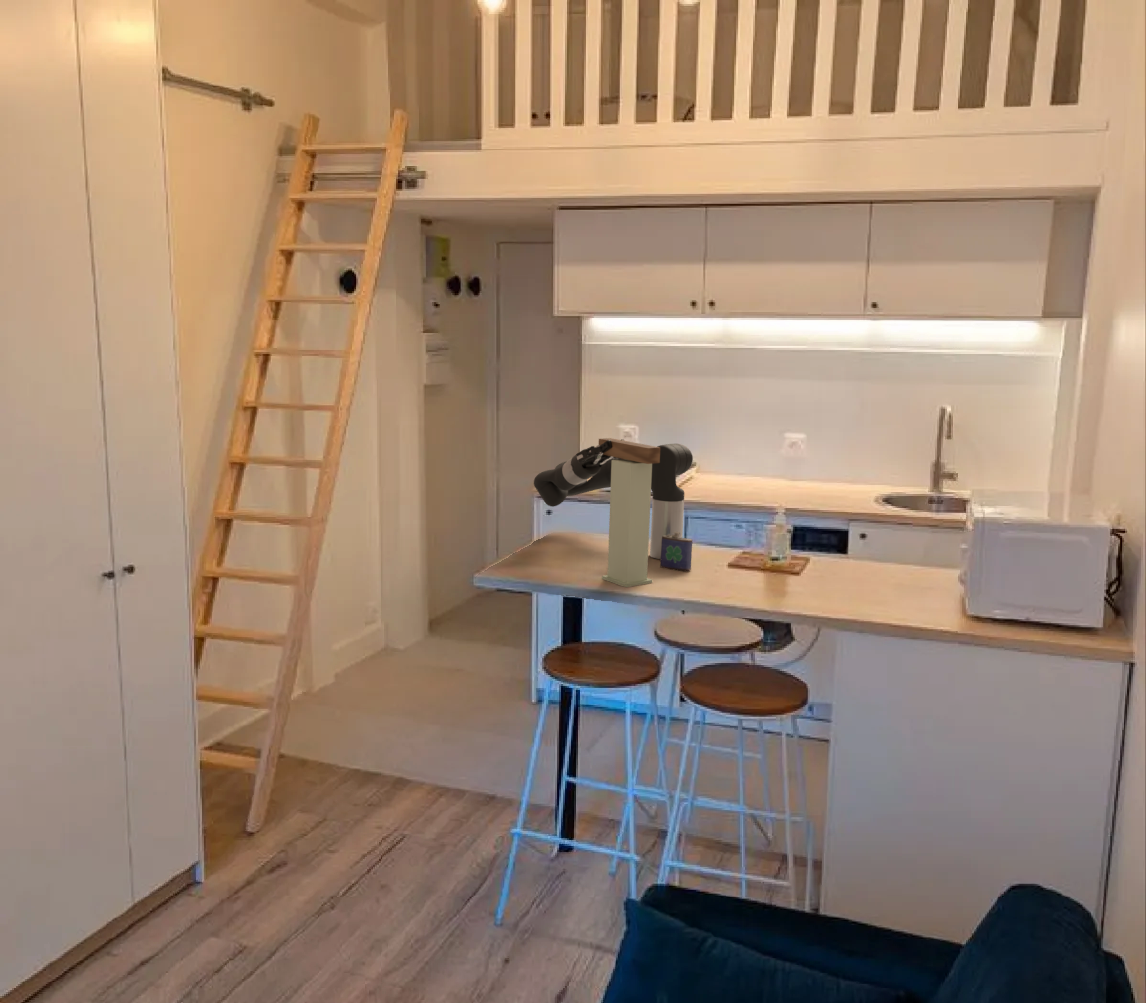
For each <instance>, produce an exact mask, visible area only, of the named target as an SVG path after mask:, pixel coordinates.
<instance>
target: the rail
mask: <svg viewBox="0 0 1146 1003" xmlns="http://www.w3.org/2000/svg"><path fill="white" fill-rule="evenodd" d="M607 440H611V443H612V448H611V449H609V450H608V451H606V452H605V453H603V454H602V455H607V456H612V457H617V458H622V459H626V460H631V461H636V462H641V463H646V464H654V463H660V447H657V446H655V445H651V444H650V445H648V444H645V443H644V444H643V443H639V442H633V441H627V440H624V441H623V440H621V439H616V438H612V437H608V438H607V437H606V438H598V445H602V444H603V443H604V442H606V441H607Z"/></svg>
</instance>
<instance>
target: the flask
mask: <svg viewBox="0 0 1146 1003" xmlns="http://www.w3.org/2000/svg"><path fill="white" fill-rule="evenodd" d="M674 533H675V535H671V536H669V535H670V534H669V535H665V536H662V545H661V559H659V561H660V562H659V566H660V568H661V569H667V570H671V571H672V570H674V571H678V572H679V571H681V572H690V571H691V570H692V552H693V551H692V550H693V539H691V538H684V537H682V538H679V534H680V532H674Z"/></svg>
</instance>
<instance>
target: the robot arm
mask: <svg viewBox="0 0 1146 1003" xmlns="http://www.w3.org/2000/svg"><path fill="white" fill-rule="evenodd" d="M620 440H623V441H625V439H624V438H623V439H620ZM656 447H660V463H654V464H652V478H651V495H652V496H651V497H652V498H651V499H652V504H651V505H652V506H651V522H650V523H651V525H650V528H651V529H650V544H649V556H650V557H651V558H653V559H657V560H660V559H661V545H662V536H665V535H669V534H670V535H669V536H671V535H675V533H674V532H680V534H679V538H683V534H684V533H683V532H684V531H683V530H684V529H683V528H684V509H685V490H684V489H683V488H681V487H679V486H678V485H677V476H678V475H679V476H680V475H682V474H684V473H686V472H687V471H688V470H690V468H691V467H692V464H693V461H694V458H693V454H692V451H691V450H690V448H688V447H687V446H685V445H683V444H682V443H669V444H668V443H667V444H666V443H665V444H660V445H657V446H656ZM611 448H612V443H611V440H607V441H606V442H604V443H603V444H602V445H599V444H598V445H596V446H595V445H591V446H590V447H587V448H583V449H581V450H580V451H579V452H577V453H576V454H575V455H573V456H572V457H570V458H569V459H568V460H566V461H563V462H561V463H558V464H557V465H556V466H555V467H554V469H547V470H544V471H542V472H539V473H538V474H537V475H535V478H534V480H533V486H534V488H535V489H536V491H537V492H538V494H539V496H540V497H541V499H542V500H543V502H544V503H545V504H546V505H547V506H548V507H557V506H559V505H561V504H562V503H563V502H564V501H565V500H566V499H567V497H573V496H574V497H575V496H578V495H581V494H584V493H585V494H586V493H588V492H593V491H597V490H600V489H606V488H611V465H612V460H619V459H622V458H617V457H612V456H607V455H602V454H603V453H605V452H606V451H608V450H609V449H611Z"/></svg>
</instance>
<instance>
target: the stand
mask: <svg viewBox="0 0 1146 1003" xmlns="http://www.w3.org/2000/svg"><path fill="white" fill-rule="evenodd" d="M651 478H652V464H646V463H641V462H636V461H631V460H626V459H619V460H612V465H611V487H610V497H609V521H608V522H609V523H608V524H609V526H608V545H607V546H608V551H607V552H608V553H607V574H605V575H602V576H601V579H602V580H604V581H607V582H609V583H610V582H611V583H612V584H616V585H619V586H622V587H625V588H630V587H635V586H636V587H637V586H642V585H646V584H652V583H653V579H651V578H648V568H649V567H648V566H649V564H648V563H649V548H650V544H649V542H650V523H651V522H650V521H651V519H650V518H651V499H652V498H651V497H652V490H651Z"/></svg>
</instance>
